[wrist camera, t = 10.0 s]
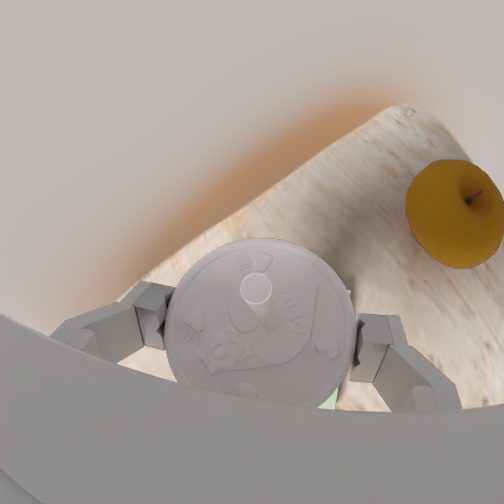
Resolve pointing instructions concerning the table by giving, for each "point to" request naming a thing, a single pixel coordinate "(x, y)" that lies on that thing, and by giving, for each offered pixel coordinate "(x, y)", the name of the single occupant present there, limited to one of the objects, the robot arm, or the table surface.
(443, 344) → the table surface
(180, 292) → the smoothie
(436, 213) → the apple
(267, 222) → the table surface
